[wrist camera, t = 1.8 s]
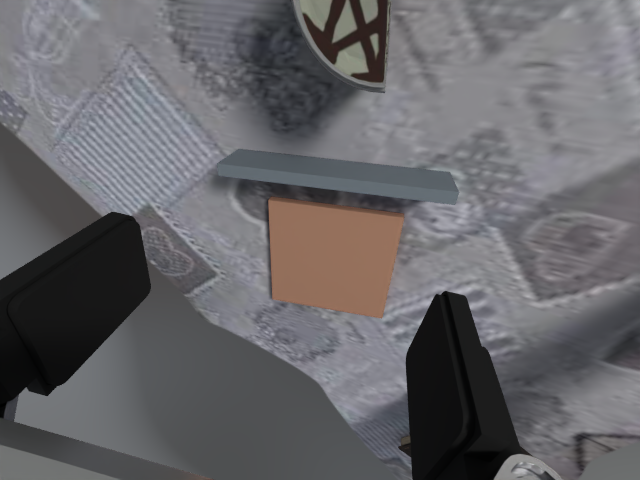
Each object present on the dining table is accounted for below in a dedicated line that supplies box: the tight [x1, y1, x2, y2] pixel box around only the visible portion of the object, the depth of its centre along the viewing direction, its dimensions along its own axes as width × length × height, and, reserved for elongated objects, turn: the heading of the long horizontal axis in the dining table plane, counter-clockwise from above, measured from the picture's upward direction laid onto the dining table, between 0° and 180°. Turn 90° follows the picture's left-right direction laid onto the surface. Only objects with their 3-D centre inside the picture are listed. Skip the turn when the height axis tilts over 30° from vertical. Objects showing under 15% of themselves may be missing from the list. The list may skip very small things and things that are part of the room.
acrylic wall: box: [217, 149, 459, 205], centre depth 31 cm, size 22×1×5 cm, turn 87°
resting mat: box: [268, 196, 404, 318], centre depth 39 cm, size 15×15×1 cm
